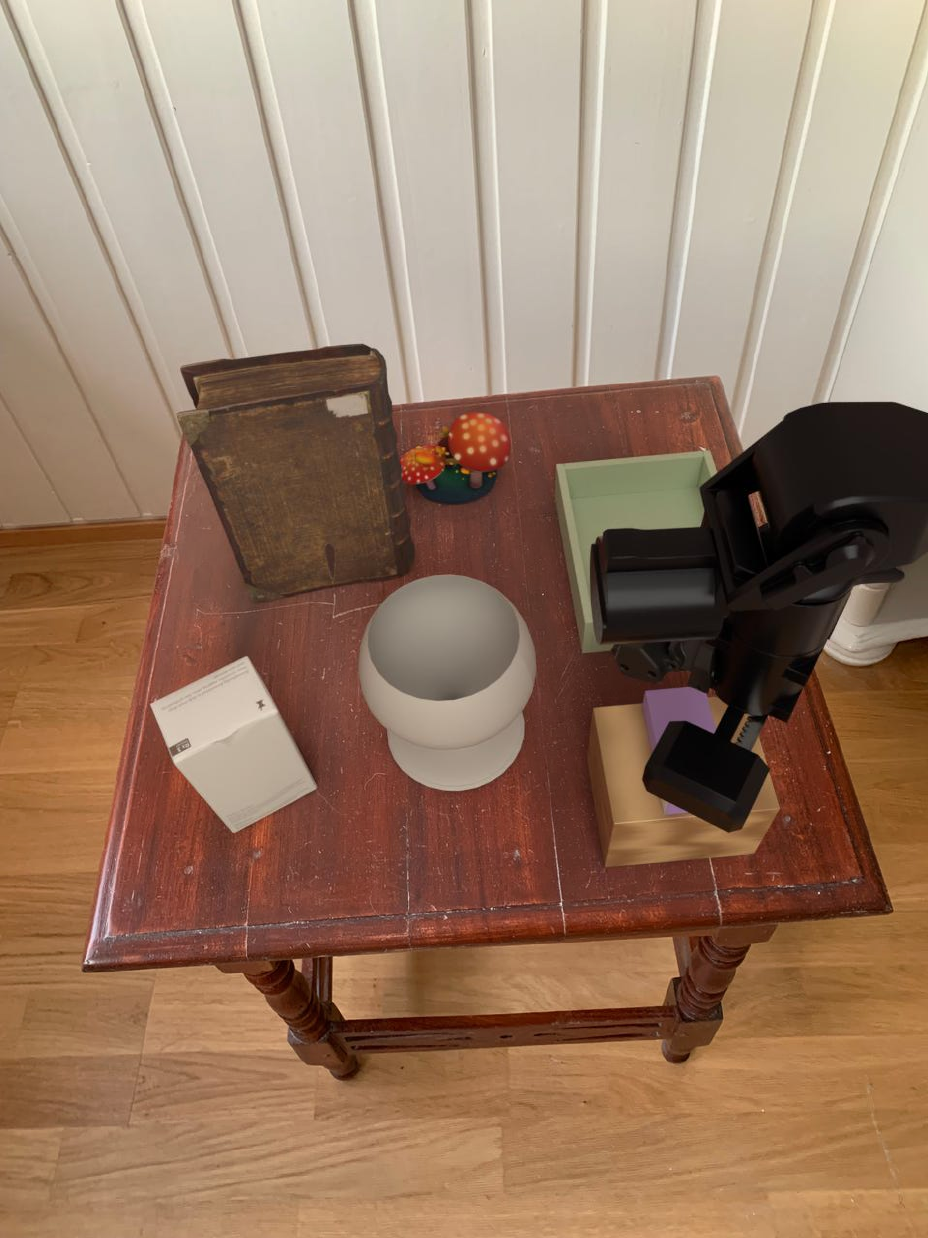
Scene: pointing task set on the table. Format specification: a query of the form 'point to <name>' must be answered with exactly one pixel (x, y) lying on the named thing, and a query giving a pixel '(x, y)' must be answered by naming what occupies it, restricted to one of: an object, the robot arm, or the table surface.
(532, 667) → the chalice
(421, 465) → the figurine
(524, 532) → the table surface
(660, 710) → the chocolate bar
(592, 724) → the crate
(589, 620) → the tray
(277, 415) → the book
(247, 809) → the cosmetic box
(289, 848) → the table surface
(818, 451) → the robot arm
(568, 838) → the table surface
